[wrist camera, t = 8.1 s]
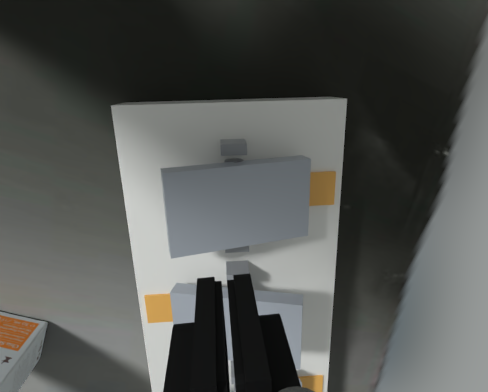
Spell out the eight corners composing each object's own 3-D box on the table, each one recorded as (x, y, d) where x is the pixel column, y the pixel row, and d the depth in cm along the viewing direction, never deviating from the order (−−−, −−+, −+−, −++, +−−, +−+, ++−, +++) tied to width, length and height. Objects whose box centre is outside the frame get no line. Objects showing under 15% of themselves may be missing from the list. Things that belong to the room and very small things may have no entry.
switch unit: (125, 102, 25) (100, 107, 19) (330, 96, 25) (358, 100, 20) (166, 413, 34) (156, 471, 29) (314, 401, 35) (330, 456, 30)
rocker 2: (180, 276, 25) (169, 292, 23) (303, 286, 24) (302, 305, 22) (186, 333, 27) (176, 353, 25) (301, 347, 25) (300, 369, 23)
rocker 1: (159, 165, 20) (162, 173, 19) (295, 152, 23) (311, 158, 21) (167, 243, 22) (171, 258, 20) (294, 223, 25) (308, 235, 23)
